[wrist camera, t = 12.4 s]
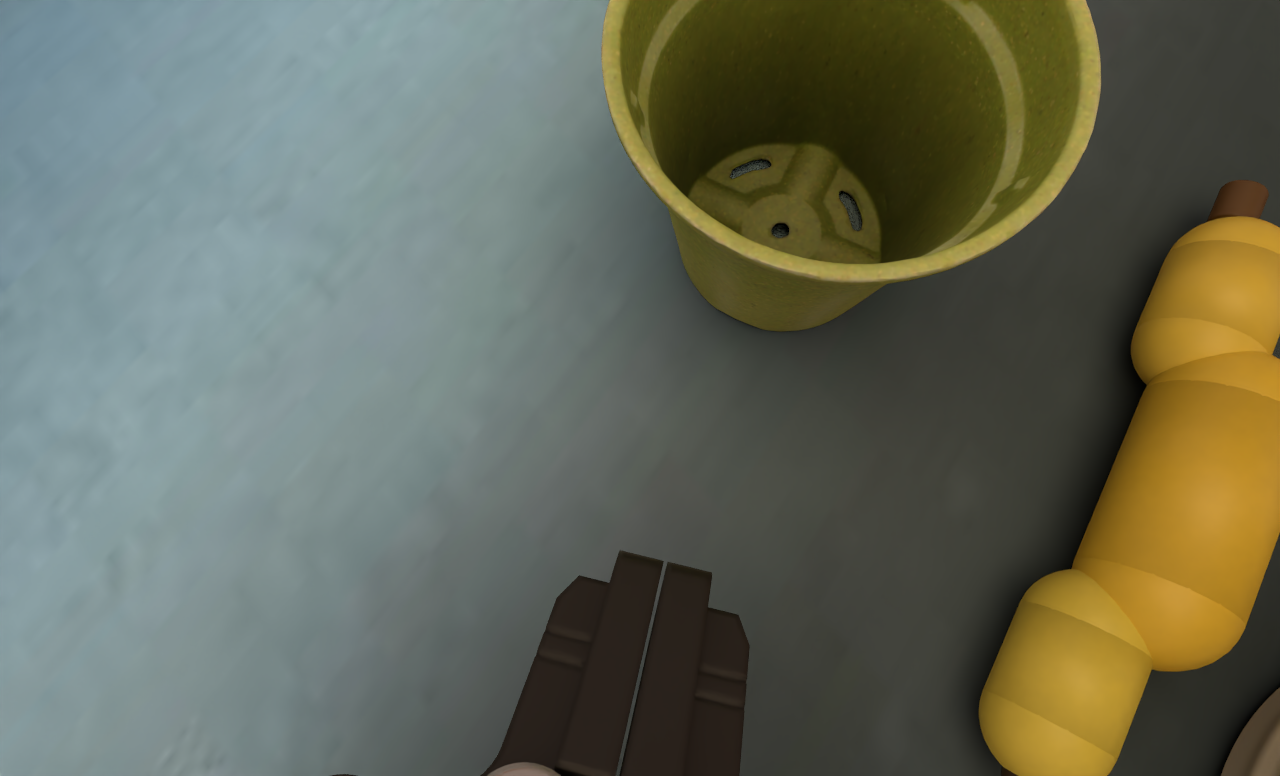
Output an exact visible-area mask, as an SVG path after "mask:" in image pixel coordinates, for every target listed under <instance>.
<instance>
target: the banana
mask: <svg viewBox="0 0 1280 776" xmlns="http://www.w3.org/2000/svg"><path fill="white" fill-rule="evenodd" d="M1268 195H1269V194H1268V190H1267V188H1266V187H1265V186H1263V185H1262V184H1260V183H1257V182H1254V181H1249V180H1237V181H1232V182H1229V183H1227V184H1225V185H1224V186H1223V187H1222V188H1221V189H1220V191H1219V194H1218V196H1217V198H1216V201H1215V203H1214V206H1213V208H1212V210H1211V213H1210V215H1209V218H1208V220H1207V222H1206V223H1204V224H1201V225H1199V226H1197V227H1195V228H1193V229H1192V230H1190V231H1189V232H1187V233H1186V234H1185V235H1183V236H1182V237H1181V238H1180V239H1179V240H1178V241H1177V242H1176V243H1175V244H1174V245H1173V247H1172V248H1171V250H1170V251H1169V253H1168V255H1167V256H1166V258H1165V260H1164V262H1163V265H1162V267H1161V269H1160V272H1159V274H1158V277H1157V279H1156V281H1155V284H1154V286H1153V288H1152V291H1151V293H1150V295H1149V298H1148V300H1147V303H1146V305H1145V307H1144V310H1143V312H1142V314H1141V317H1140V319H1139V322H1138V324H1137V326H1136V329H1135V331H1134V334H1133V338H1132V342H1131V357H1132V361H1133V365H1134V368H1135V370H1136V372H1137V373H1138V375H1139V377H1140V378H1141V380H1142V381H1143V382H1144V383H1145V384H1146V385H1147V386H1146V388H1145V390H1144V391H1143V394H1142V396H1141V399H1140V401H1139V403H1138V406H1137V408H1136V411H1135V413H1134V416H1133V418H1132V420H1131V423H1130V425H1129V428H1128V430H1127V433H1126V435H1125V437H1124V440H1123V442H1122V445H1121V447H1120V449H1119V452H1118V454H1117V457H1116V459H1115V462H1114V464H1113V466H1112V469H1111V471H1110V474H1109V476H1108V478H1107V481H1106V483H1105V486H1104V488H1103V491H1102V493H1101V495H1100V498H1099V500H1098V503H1097V505H1096V508H1095V510H1094V512H1093V515H1092V517H1091V520H1090V522H1089V524H1088V527H1087V529H1086V532H1085V534H1084V537H1083V539H1082V541H1081V544H1080V546H1079V549H1078V551H1077V554H1076V556H1075V558H1074V561H1073V565H1072V568H1071V569H1067V570H1062V571H1057V572H1054V573H1051V574H1049V575H1046V576H1044V577H1043V578H1041V579H1040V580H1038V581H1037V582H1035V583H1034V584H1033V585H1032V586H1031V587H1030V588H1029V589H1028V590H1027V591H1026V592H1025V594H1024V596H1023V598H1022V599H1021V601H1020V603H1019V605H1018V608H1017V610H1016V613H1015V615H1014V617H1013V620H1012V622H1011V624H1010V627H1009V629H1008V631H1007V634H1006V636H1005V639H1004V641H1003V643H1002V646H1001V648H1000V650H999V653H998V655H997V657H996V660H995V662H994V665H993V667H992V669H991V672H990V674H989V676H988V679H987V681H986V683H985V686H984V688H983V691H982V694H981V698H980V702H979V721H980V727H981V730H982V734H983V737H984V740H985V742H986V744H987V745H988V747H989V749H990V751H991V753H992V754H993V755H994V757H995V758H996V759H997V761H998V762H999V763H1000V764H1001V765H1002V766H1003V767H1002V771H1001V776H1107V775H1108V774H1109V773H1110V772H1111V770H1112V769H1113V767H1114V765H1115V763H1116V761H1117V759H1118V757H1119V754H1120V752H1121V749H1122V746H1123V744H1124V741H1125V738H1126V736H1127V733H1128V731H1129V728H1130V725H1131V723H1132V720H1133V717H1134V715H1135V712H1136V710H1137V707H1138V704H1139V702H1140V699H1141V697H1142V694H1143V691H1144V689H1145V686H1146V683H1147V681H1148V678H1149V676H1150V673H1151V670H1157V671H1175V672H1180V671H1187V670H1193V669H1198V668H1201V667H1203V666H1206V665H1208V664H1211V663H1213V662H1215V661H1216V660H1218V659H1219V658H1221V657H1222V656H1224V655H1225V654H1227V653H1228V652H1229V651H1230V650H1231V649H1232V648H1233V646H1234V645H1235V644H1236V643H1237V642H1238V641H1239V639H1240V637H1241V635H1242V633H1243V631H1244V630H1245V628H1246V624H1247V621H1248V619H1249V616H1250V613H1251V610H1252V608H1253V605H1254V602H1255V599H1256V597H1257V594H1258V591H1259V588H1260V586H1261V583H1262V580H1263V577H1264V574H1265V572H1266V569H1267V566H1268V563H1269V561H1270V558H1271V555H1272V552H1273V550H1274V547H1275V544H1276V541H1277V539H1278V536H1279V533H1280V359H1278V358H1277V357H1275V356H1273V355H1272V353H1273V351H1274V348H1275V346H1276V343H1277V340H1278V338H1279V335H1280V228H1279V227H1277V226H1275V225H1273V224H1271V223H1269V222H1267V221H1264V220H1261V219H1259V218H1260V216H1261V213H1262V211H1263V208H1264V206H1265V203H1266V201H1267V198H1268Z"/></svg>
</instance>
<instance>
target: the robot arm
mask: <svg viewBox="0 0 1280 776" xmlns="http://www.w3.org/2000/svg"><path fill="white" fill-rule="evenodd" d="M663 562H664V561H662V560H658V559H653V558H649V557H645V556H641V555H637V554H633V553H629V552H625V551H621V550H620V551H619V554H618V557H617V560H616V563H615V566H614V570H613V573H612V576H611V580H610V583H607V582H603V581H599V580H595V579H591V578H587V577H583V576H578V577H577V578H576V579H575V580H574V581H573V582H572V583H571V584H570V585H569V586H568V587H567V588H566V589H565V590H564V591H563V592H562V593H561V594H560V595H559V596H558V597H557V599H556V602H555V604H554V607H553V610H552V612H551V615H550V618H549V620H548V623H547V626H546V630H545V632H544V634H543V637H542V639H541V642H540V645H539V647H538V650H537V654H536V657H535V658H534V661H533V664H532V666H531V669H530V672H529V674H528V677H527V680H526V682H525V685H524V688H523V691H522V693H521V696H520V699H519V701H518V704H517V707H516V709H515V712H514V715H513V718H512V720H511V723H510V726H509V728H508V731H507V734H506V736H505V739H504V742H503V744H502V747H501V749H500V751H499V753H498V755H497V757H496V758H495V760H494V761H493V763H492V764H491V765H490V767H489V768H488V769H487V770H486V771H485V772H484V773H483V774H482V775H481V776H615V775H616V770H617V766H618V762H619V757H620V753H621V748H622V744H623V739H624V735H625V730H626V726H627V722H628V717H629V713H630V708H631V704H632V699H633V695H634V691H635V686H636V682H637V677H638V673H639V668H640V664H641V659H642V655H643V651H644V646H645V642H646V637H647V633H648V628H649V624H650V619H651V615H652V611H653V606H654V602H655V597H656V593H657V588H658V584H659V579H660V575H661V571H662V566H663ZM711 580H712V573H711V572H707V571H703V570H699V569H695V568H691V567H687V566H683V565H679V564H675V563H671V562H668V563H667V567H666V571H665V575H664V580H663V584H662V588H661V592H660V597H659V601H658V605H657V610H656V614H655V618H654V623H653V627H652V631H651V636H650V640H649V644H648V649H647V653H646V658H645V662H644V667H643V671H642V676H641V681H640V685H639V690H638V694H637V699H636V703H635V708H634V712H633V717H632V721H631V726H630V731H629V735H628V740H627V744H626V749H625V753H624V758H623V762H622V767H621V771H620V776H739V772H740V759H741V747H742V734H743V721H744V705H745V696H746V679H747V671H748V659H749V643H748V640H747V637H746V635H745V632H744V629H743V626H742V624H741V621H740V618H739V615H737V614H733V613H729V612H725V611H721V610H717V609H713V608H709V607H708V601H709V594H710V587H711ZM332 776H356V775H349V774H339V775H332Z"/></svg>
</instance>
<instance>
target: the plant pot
mask: <svg viewBox="0 0 1280 776" xmlns="http://www.w3.org/2000/svg"><path fill="white" fill-rule="evenodd" d="M602 71H603V78H604V85H605V92H606V97H607V102H608V106H609V110H610V113H611V117H612V120H613V124H614V127H615V129H616V131H617V134H618V136H619V139H620V141H621V144H622V145H623V147H624V149H625V151H626V153H627V155H628V157H629V158H630V160H631V162H632V163H633V165H634V166H635V168H636V170H637V171H638V173H639V174H640V176H641V177H642V178H643V180H644V181H645V182H646V184H647V185H648V186H649V188H650V189H651V190H652V191H653V192H654V193H655V194H656V196H657V197H658V198H659V199H660V200H661V201H662V202H663V203H664V204H665V205H666V206H667V207H668V210H669V214H670V217H671V221H672V224H673V228H674V231H675V234H676V238H677V241H678V245H679V249H680V254H681V257H682V261H683V264H684V267H685V269H686V271H687V274H688V276H689V277H690V279H691V281H692V282H693V284H694V285H695V287H696V288H697V290H698V291H699V292H700V294H701V295H702V296H703V297H704V298H705V299H706V300H707V301H708V302H709V303H710V304H711V305H712V306H714V307H715V308H716V309H718V310H720V311H722V312H724V313H726V314H727V315H729V316H731V317H733V318H735V319H737V320H740V321H742V322H745V323H747V324H749V325H752V326H755V327H757V328H760V329H763V330H770V331H798V330H805V329H809V328H813V327H816V326H819V325H822V324H824V323H826V322H829V321H831V320H833V319H834V318H836V317H838V316H840V315H841V314H843V313H844V312H846V311H847V310H849V309H851V308H852V307H854V306H855V305H857V304H858V303H859V302H861V301H862V300H864V299H865V298H867V297H868V296H869V295H871V294H872V293H874V292H875V291H877V290H878V289H880V288H881V287H883V286H884V285H886V284H888V283H895V282H902V281H908V280H913V279H917V278H922V277H926V276H930V275H933V274H936V273H940V272H943V271H946V270H949V269H951V268H954V267H956V266H959V265H961V264H964V263H966V262H968V261H971V260H973V259H975V258H977V257H979V256H981V255H983V254H985V253H987V252H989V251H991V250H992V249H994V248H996V247H997V246H999V245H1000V244H1002V243H1003V242H1005V241H1006V240H1008V239H1009V238H1011V237H1012V236H1014V235H1015V234H1016V233H1018V232H1019V231H1020V230H1022V229H1023V228H1024V227H1025V226H1026V225H1028V224H1029V223H1030V222H1031V221H1032V220H1034V219H1035V218H1036V217H1037V216H1038V215H1040V214H1041V213H1042V212H1043V211H1044V210H1045V209H1046V208H1047V206H1048V205H1049V204H1050V203H1051V202H1052V201H1053V200H1054V199H1055V198H1056V196H1057V195H1058V194H1059V192H1060V191H1061V190H1062V188H1063V187H1064V185H1065V184H1066V182H1067V181H1068V179H1069V178H1070V176H1071V175H1072V173H1073V171H1074V170H1075V168H1076V166H1077V164H1078V162H1079V161H1080V159H1081V157H1082V154H1083V152H1084V151H1085V149H1086V147H1087V144H1088V141H1089V139H1090V136H1091V134H1092V131H1093V128H1094V123H1095V119H1096V113H1097V109H1098V103H1099V97H1100V90H1101V63H1100V53H1099V46H1098V41H1097V36H1096V31H1095V27H1094V24H1093V21H1092V17H1091V13H1090V10H1089V8H1088V6H1087V4H1086V0H610V1H609V4H608V8H607V11H606V15H605V20H604V26H603V36H602ZM760 159H764V160H768V161H770V163H771V166H770V167H769V168H766V169H763V170H754V171H750V172H748V173H746V174H742V175H741V176H738V177H736V178H734V179H732V178H730V175H731V172H732V170H733V169H735V168H736V167H738V166H741V165H743V164H746V163H748V162H751V161H755V160H760ZM840 191H844V192H847V193H848V194H849V195H850V196H851V197H852V198H853V199H854V200H855V202H856V203H857V206H858V209H859V211H860V213H861V217H862V228H861V230H860V231H855V230H854V229H852V225H851V223H850V220H849V216H848V213H847V210H846V208H845V206H844V204H843V203H842V202H841V201H840V199H839V192H840ZM778 223H786V224H787V226H788V227H789V234H788V235H787V236H786V237H782V238H777V237H775V236H773V234H772V232H771V230H772V228H773V226H774V225H775V224H778Z"/></svg>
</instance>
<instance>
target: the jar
mask: <svg viewBox="0 0 1280 776" xmlns="http://www.w3.org/2000/svg"><path fill="white" fill-rule="evenodd" d="M1221 776H1280V687H1279V688H1278V689H1277V690H1276V691H1275V692H1274V693H1273V694H1272V695H1271V696H1270V697H1269V698H1268V699H1267V700H1266V701H1265V702H1264V703H1263V704H1262V706H1261V707H1260V708H1259V709H1258V710H1257V711H1256V712H1255V714H1254V715H1253V716H1252V718H1251V719H1250V720H1249V722H1248V723H1247V725H1246V726H1245V727H1244V729H1243V730H1242V732H1241V734H1240V736H1239V737H1238V739H1237V741H1236V742H1235V744H1234V746H1233V748H1232V750H1231V752H1230V754H1229V757H1228V759H1227V761H1226V763H1225V766H1224V768H1223V771H1222V774H1221Z"/></svg>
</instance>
